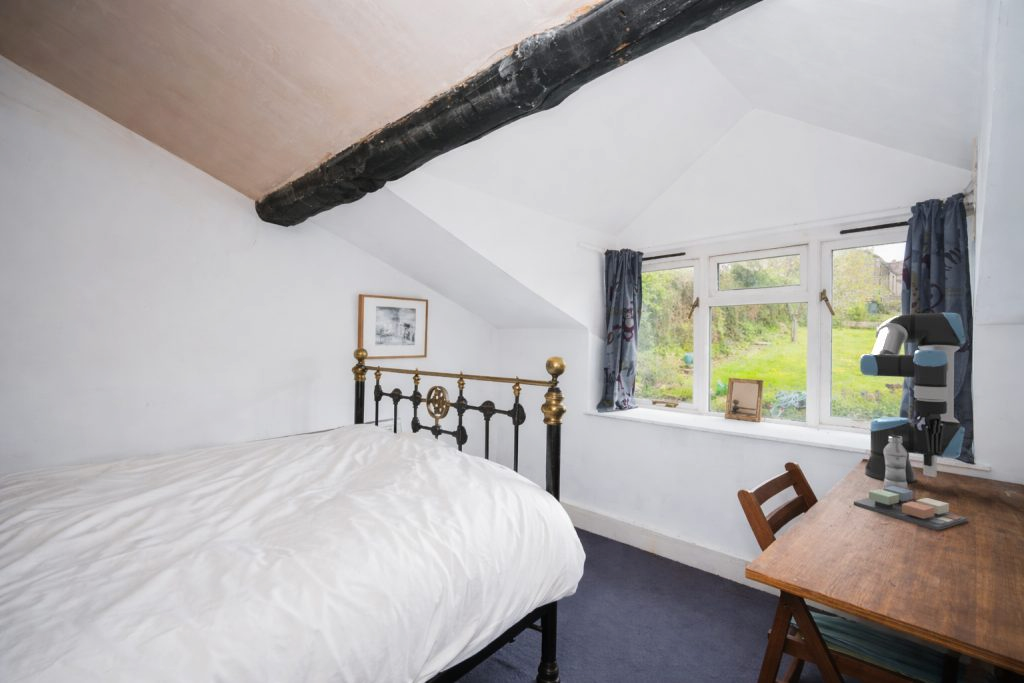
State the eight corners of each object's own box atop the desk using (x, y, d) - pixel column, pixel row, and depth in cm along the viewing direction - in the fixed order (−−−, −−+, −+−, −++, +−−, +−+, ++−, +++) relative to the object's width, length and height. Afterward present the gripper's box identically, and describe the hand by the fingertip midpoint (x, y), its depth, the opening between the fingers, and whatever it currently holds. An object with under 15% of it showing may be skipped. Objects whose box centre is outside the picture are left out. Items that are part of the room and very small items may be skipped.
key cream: (926, 505, 143) (926, 497, 143) (948, 511, 138) (948, 503, 138) (916, 508, 141) (916, 500, 141) (939, 514, 136) (939, 506, 136)
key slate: (893, 493, 151) (893, 485, 151) (913, 498, 146) (913, 490, 146) (883, 495, 149) (883, 488, 149) (903, 501, 144) (903, 493, 144)
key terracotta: (912, 509, 140) (912, 501, 140) (934, 515, 135) (934, 507, 135) (901, 512, 138) (901, 504, 138) (924, 518, 133) (924, 510, 133)
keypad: (882, 497, 155) (882, 488, 155) (967, 521, 135) (967, 511, 135) (853, 504, 149) (853, 495, 149) (937, 530, 129) (937, 520, 129)
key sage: (879, 496, 148) (879, 489, 148) (898, 502, 143) (898, 494, 143) (868, 499, 146) (868, 491, 146) (888, 504, 141) (888, 496, 141)
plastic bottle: (913, 496, 156) (913, 438, 156) (893, 496, 156) (893, 438, 156) (897, 490, 162) (897, 434, 162) (878, 490, 162) (878, 434, 162)
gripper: (926, 396, 146) (926, 469, 146) (903, 399, 141) (903, 475, 141) (956, 399, 139) (956, 476, 139) (934, 402, 134) (933, 482, 134)
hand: (929, 475), depth 140 cm, fingers closed
